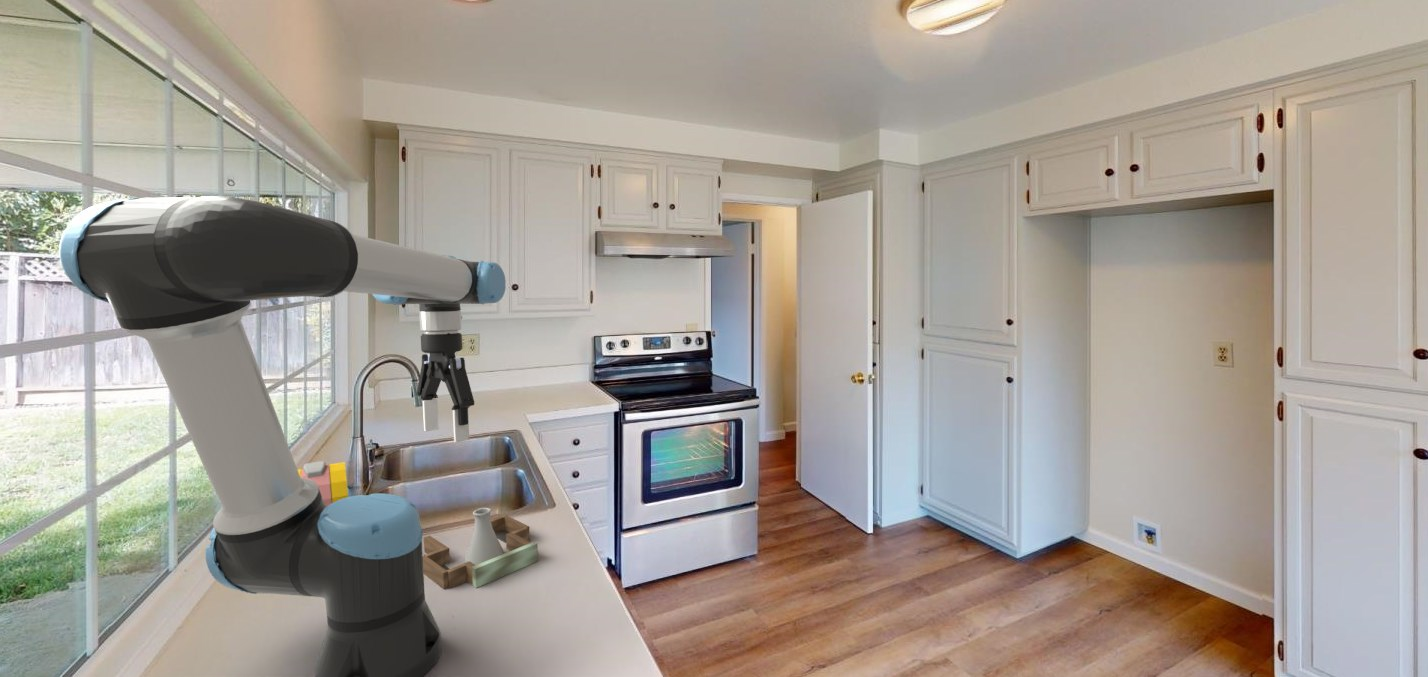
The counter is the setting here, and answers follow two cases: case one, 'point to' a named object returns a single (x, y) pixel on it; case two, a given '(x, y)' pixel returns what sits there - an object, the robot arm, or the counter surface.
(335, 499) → the alarm clock
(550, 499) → the counter surface
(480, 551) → the flask
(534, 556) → the box
